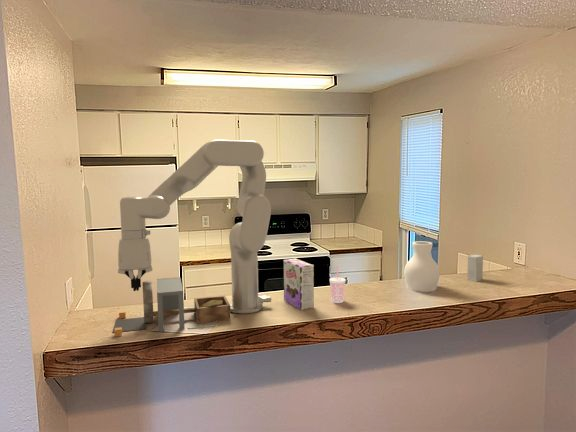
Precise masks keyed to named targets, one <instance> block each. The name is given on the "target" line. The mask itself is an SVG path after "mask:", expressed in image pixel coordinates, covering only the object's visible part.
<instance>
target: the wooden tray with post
mask: <svg viewBox="0 0 576 432" xmlns="http://www.w3.org/2000/svg"><path fill="white" fill-rule="evenodd" d="M141 285H142V298H143V299H142V302H143V305H142V306H143V317H144V322H145V323H146V324H150V323H153V322H154V321H155V320H154V317H158V310H155V311H154V301H153V300H154V298H153V297H154V296H153V281H152V280H144V281H141ZM211 300H222V301H223V303H222V305H221V306H212V307H202V308H199V307H201V306H202V305H203V304H205V303H207V302H209V301H211ZM193 303H194V307H186V308H184V314H190V313H191V314H192V313H194V315H195V319H196V323H197V324H202V323H203V324H204V323H212V322H222V321H231V320H232V319H231V318H232V317H231V311H230V302H229V299H228V298H227V297H226V295H218V296H206V297H197V298H194V299H193ZM170 315H171V316H172V315H179V309H174V310H163V316H170Z"/></svg>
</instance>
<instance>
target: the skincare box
mask: <svg viewBox="0 0 576 432" xmlns="http://www.w3.org/2000/svg"><path fill="white" fill-rule="evenodd" d="M483 267H484V255H481V254H475V253H474V254H471V255H468V256H467V273H466V275H467V279H466V280H467V281H470V282H476V283H477V282H480V281H482V280H483V277H484V276H483V273H484V272H483V271H484V269H483Z"/></svg>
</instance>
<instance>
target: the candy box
mask: <svg viewBox="0 0 576 432" xmlns="http://www.w3.org/2000/svg"><path fill="white" fill-rule="evenodd" d="M282 261H283V301H284V302H287V303H288V304H290V305H291V306H292V307H295V308H297V309H298V310H300V311H301V310H308V309H313V308H314V306H315V305H314V302H315V301H314V298H315V297H314V296H315V295H314V293H315V292H314V289H315V288H314V286H315V285H314V283H315V282H314V281H315V278H314V277H315V274H314V273H315V268H314V267H315V266H314V265H315V264H311V263H308V262H306V261H304V260H301V259H298V258H289V259H283V260H282Z"/></svg>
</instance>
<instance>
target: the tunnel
mask: <svg viewBox="0 0 576 432" xmlns="http://www.w3.org/2000/svg"><path fill="white" fill-rule="evenodd" d="M156 297H157V298H156V302H157V311H158V316H157V321H158V322H157V325H158V326H157V327H158V332H164V315H163V310H174V309H179V314H178V318H179V319H178V320H179V321H178V322H179V324H178V325H179V330H185V313H184V307H185V306H184V305H185V304H184V289H183V283H182V278H181V277H180V276H179V277H178V276H177V277H168V278H167V277H165V278H157V279H156ZM126 313H127V311H126V310H119V311H118V316H119V317H118V318H119V319H115V322H114V325H113V329H112V332H111V333H112V334H114V337H122V335H123V332H125V333H126V332H132V331H141V330H146V329H147V323H145V322H144V316H141V317H131V318H126V317H127V315H126ZM217 326H220V324H219V323H215V324H206V325H204V324H203V325H196V326H195V325H194V326H188V327H187V330H191V329H199V328H208V327H217Z"/></svg>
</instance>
